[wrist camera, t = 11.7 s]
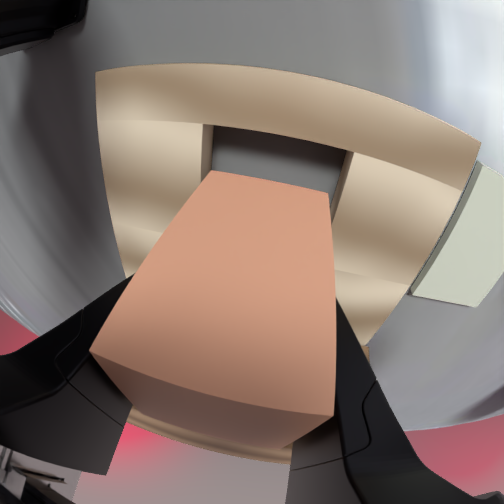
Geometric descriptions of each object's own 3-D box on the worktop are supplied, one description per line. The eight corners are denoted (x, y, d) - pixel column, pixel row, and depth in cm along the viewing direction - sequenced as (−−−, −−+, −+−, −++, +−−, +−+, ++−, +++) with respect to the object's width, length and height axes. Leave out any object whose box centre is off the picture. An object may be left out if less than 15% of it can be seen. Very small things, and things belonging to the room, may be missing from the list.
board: (114, 68, 10) (95, 72, 9) (465, 132, 9) (481, 142, 7) (141, 285, 20) (132, 299, 19) (359, 333, 19) (360, 350, 18)
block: (211, 170, 9) (89, 350, 4) (328, 193, 9) (333, 415, 3) (208, 257, 12) (141, 413, 6) (301, 277, 11) (279, 449, 6)
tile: (477, 160, 9) (483, 165, 9) (537, 199, 9) (542, 205, 8) (410, 288, 15) (412, 295, 15) (473, 301, 15) (476, 307, 14)
